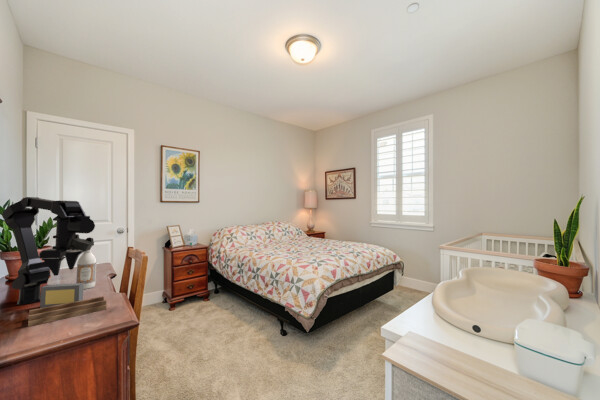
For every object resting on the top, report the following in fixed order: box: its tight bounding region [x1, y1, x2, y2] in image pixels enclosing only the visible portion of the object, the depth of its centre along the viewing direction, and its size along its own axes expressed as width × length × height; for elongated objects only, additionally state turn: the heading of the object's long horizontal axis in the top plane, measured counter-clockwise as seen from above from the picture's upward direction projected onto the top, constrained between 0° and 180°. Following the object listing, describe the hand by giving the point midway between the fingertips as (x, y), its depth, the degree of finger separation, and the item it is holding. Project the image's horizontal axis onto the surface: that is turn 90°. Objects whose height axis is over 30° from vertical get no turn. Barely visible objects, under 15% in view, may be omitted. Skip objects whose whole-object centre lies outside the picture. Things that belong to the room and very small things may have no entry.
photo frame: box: [39, 282, 84, 308], centre depth 97 cm, size 12×3×8 cm, turn 106°
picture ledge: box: [27, 295, 107, 328], centre depth 89 cm, size 20×8×3 cm, turn 136°
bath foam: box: [75, 246, 97, 290], centre depth 119 cm, size 7×7×20 cm
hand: (64, 272), depth 97 cm, fingers open, 9 cm apart
